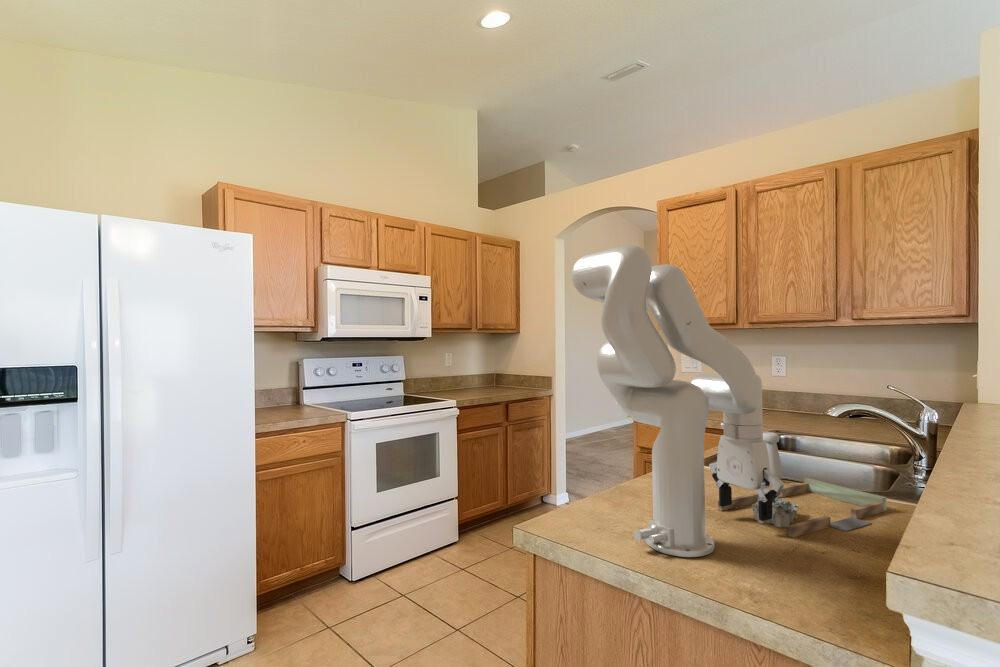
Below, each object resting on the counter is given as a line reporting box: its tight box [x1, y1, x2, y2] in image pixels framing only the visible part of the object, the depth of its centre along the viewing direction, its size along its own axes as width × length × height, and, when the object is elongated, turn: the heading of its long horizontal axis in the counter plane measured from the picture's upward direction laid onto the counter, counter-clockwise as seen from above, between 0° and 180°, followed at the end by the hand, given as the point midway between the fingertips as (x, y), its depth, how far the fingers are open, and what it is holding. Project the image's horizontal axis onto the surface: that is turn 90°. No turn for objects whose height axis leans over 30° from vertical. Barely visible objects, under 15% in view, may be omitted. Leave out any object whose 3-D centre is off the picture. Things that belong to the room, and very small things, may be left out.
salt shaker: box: [763, 431, 784, 480], centre depth 138 cm, size 6×6×13 cm
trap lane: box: [717, 477, 888, 539], centre depth 114 cm, size 32×24×3 cm
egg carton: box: [751, 498, 800, 528], centre depth 109 cm, size 11×8×4 cm
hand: (744, 512), depth 106 cm, fingers open, 9 cm apart
